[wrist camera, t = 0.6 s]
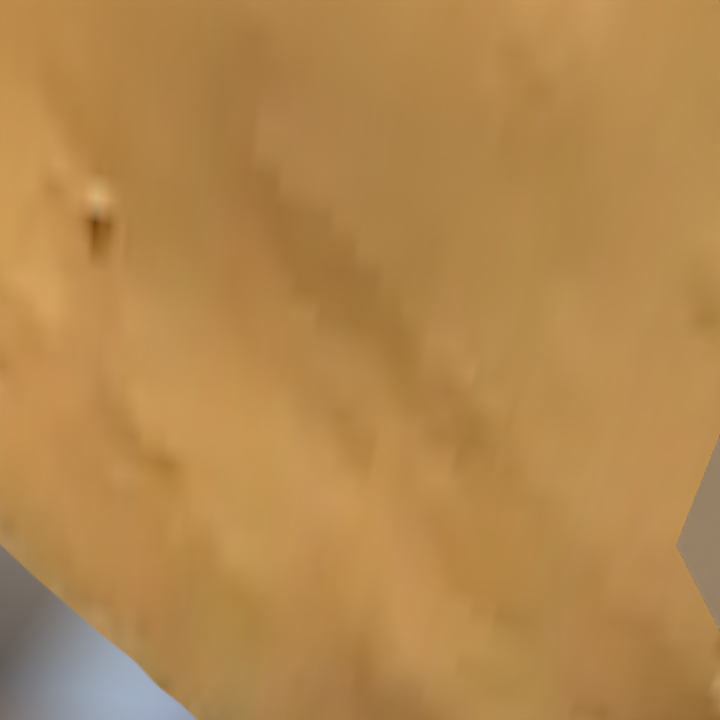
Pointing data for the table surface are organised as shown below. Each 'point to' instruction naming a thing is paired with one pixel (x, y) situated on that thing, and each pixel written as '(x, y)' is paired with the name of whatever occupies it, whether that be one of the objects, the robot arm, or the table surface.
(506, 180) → the table surface
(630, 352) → the table surface
